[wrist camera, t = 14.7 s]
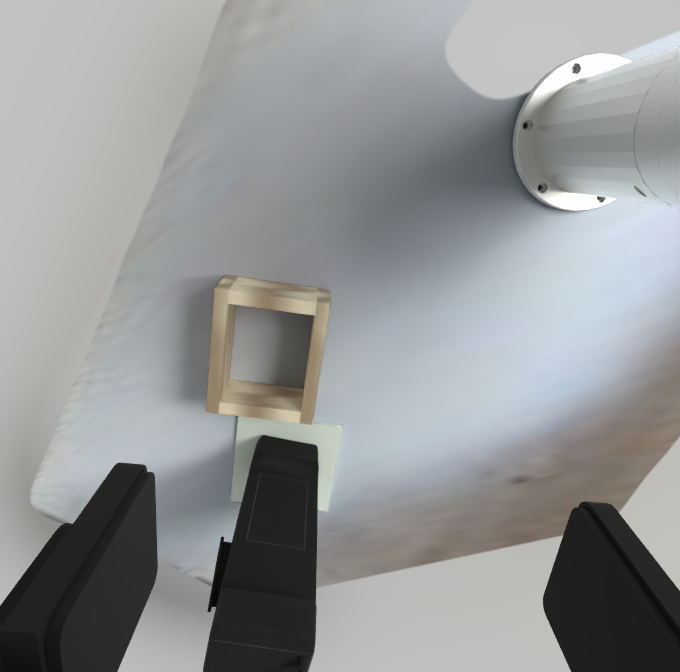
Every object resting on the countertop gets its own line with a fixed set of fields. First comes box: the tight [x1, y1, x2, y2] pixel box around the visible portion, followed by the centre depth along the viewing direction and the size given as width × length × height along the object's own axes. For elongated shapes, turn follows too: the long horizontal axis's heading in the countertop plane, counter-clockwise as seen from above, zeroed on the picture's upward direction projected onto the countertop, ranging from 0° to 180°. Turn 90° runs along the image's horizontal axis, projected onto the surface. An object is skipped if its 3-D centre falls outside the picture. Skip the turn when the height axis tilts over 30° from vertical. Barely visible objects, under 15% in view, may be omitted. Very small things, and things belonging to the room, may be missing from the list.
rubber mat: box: [230, 416, 343, 512], centre depth 54 cm, size 11×11×1 cm
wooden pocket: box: [206, 275, 331, 425], centre depth 47 cm, size 10×12×5 cm
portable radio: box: [203, 435, 319, 672], centre depth 42 cm, size 8×6×25 cm
